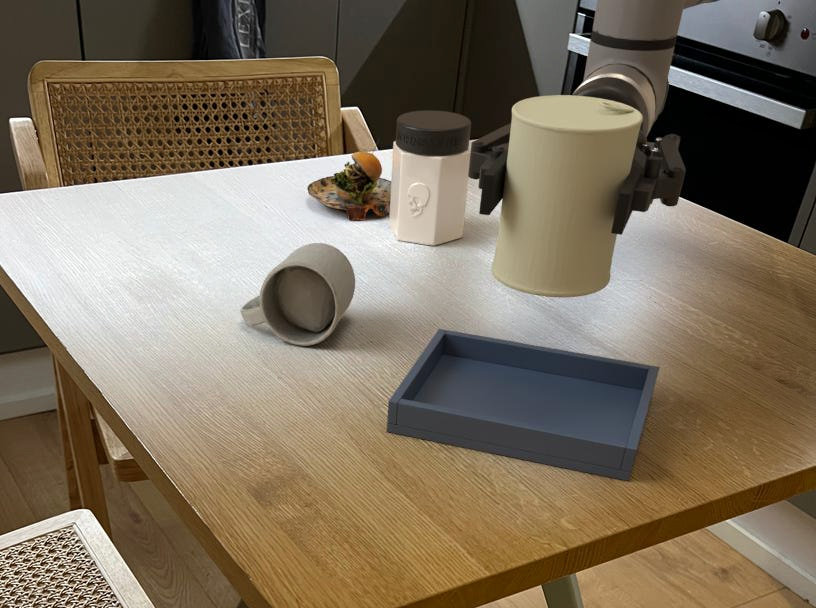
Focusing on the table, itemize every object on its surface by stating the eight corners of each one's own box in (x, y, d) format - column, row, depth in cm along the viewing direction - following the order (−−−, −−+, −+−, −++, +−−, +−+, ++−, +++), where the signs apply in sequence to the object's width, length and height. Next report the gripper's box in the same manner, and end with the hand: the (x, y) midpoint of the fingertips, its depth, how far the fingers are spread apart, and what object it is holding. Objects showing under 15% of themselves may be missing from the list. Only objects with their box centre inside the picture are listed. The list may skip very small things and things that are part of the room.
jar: (377, 238, 111) (382, 124, 103) (399, 216, 117) (406, 106, 109) (452, 250, 109) (463, 134, 101) (471, 227, 115) (483, 115, 107)
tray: (652, 396, 84) (659, 366, 82) (628, 481, 74) (636, 449, 72) (436, 357, 89) (438, 328, 87) (386, 431, 79) (388, 400, 77)
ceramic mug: (358, 315, 95) (359, 236, 90) (338, 351, 90) (338, 268, 84) (256, 305, 97) (251, 226, 92) (230, 339, 91) (223, 257, 86)
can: (629, 293, 73) (669, 119, 65) (514, 301, 72) (540, 124, 64) (581, 248, 80) (612, 85, 72) (475, 255, 78) (494, 89, 70)
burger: (318, 185, 125) (318, 121, 120) (408, 193, 124) (412, 129, 119) (296, 216, 117) (296, 149, 112) (393, 224, 115) (397, 157, 110)
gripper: (720, 186, 84) (695, 281, 68) (478, 155, 89) (403, 236, 73) (747, 89, 79) (726, 167, 63) (488, 62, 84) (410, 127, 68)
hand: (552, 204), depth 68 cm, fingers closed on can, 9 cm apart
